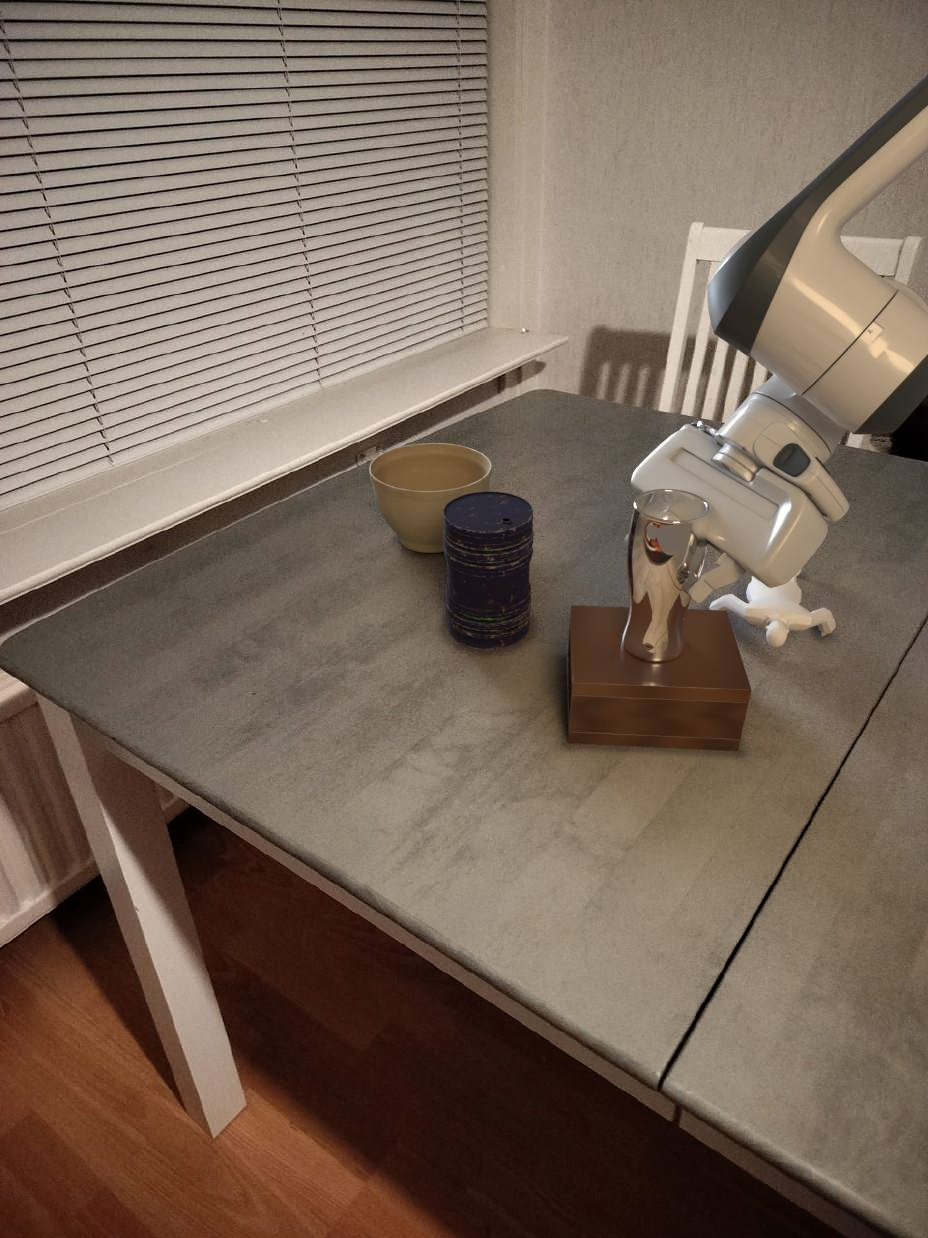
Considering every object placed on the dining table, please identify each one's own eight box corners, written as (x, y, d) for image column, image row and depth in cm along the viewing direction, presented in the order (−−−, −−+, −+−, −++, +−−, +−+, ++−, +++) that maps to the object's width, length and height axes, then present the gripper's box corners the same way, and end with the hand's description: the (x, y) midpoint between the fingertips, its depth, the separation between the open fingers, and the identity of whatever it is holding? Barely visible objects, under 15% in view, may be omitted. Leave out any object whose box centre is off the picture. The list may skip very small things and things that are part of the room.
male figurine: (712, 577, 108) (701, 663, 86) (720, 533, 105) (710, 610, 84) (823, 593, 104) (840, 687, 83) (834, 547, 102) (854, 632, 80)
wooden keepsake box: (715, 668, 89) (726, 610, 85) (737, 751, 78) (751, 690, 74) (566, 662, 90) (570, 605, 86) (568, 743, 80) (572, 682, 75)
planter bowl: (493, 566, 108) (494, 489, 102) (370, 568, 108) (363, 492, 102) (489, 510, 121) (489, 440, 115) (380, 512, 121) (374, 442, 115)
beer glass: (604, 650, 79) (618, 510, 71) (634, 616, 84) (650, 481, 76) (673, 674, 76) (696, 530, 68) (700, 637, 81) (724, 498, 72)
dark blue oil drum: (429, 623, 97) (423, 509, 89) (491, 593, 102) (491, 482, 94) (485, 661, 91) (484, 542, 82) (548, 627, 96) (553, 512, 87)
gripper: (679, 395, 79) (582, 507, 81) (834, 476, 63) (709, 611, 65) (711, 432, 83) (618, 538, 85) (865, 517, 67) (745, 643, 69)
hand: (658, 571), depth 75 cm, fingers open, 8 cm apart
